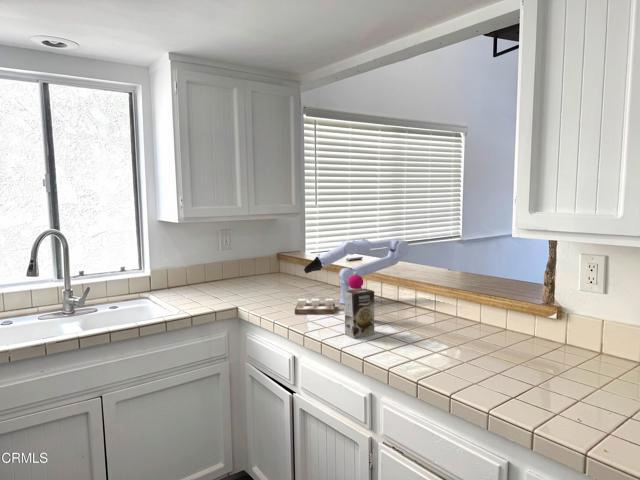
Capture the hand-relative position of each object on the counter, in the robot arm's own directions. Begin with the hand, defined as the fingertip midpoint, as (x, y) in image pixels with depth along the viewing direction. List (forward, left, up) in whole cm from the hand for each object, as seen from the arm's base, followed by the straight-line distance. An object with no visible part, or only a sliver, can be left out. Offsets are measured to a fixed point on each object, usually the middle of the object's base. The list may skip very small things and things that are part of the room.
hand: (305, 270), depth 202 cm
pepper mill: (-22, +24, -17) cm, 37 cm away
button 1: (+1, +7, -15) cm, 16 cm away
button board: (-5, +8, -16) cm, 19 cm away
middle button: (-5, +7, -15) cm, 17 cm away
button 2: (-11, +7, -15) cm, 20 cm away
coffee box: (-23, +41, -17) cm, 50 cm away
